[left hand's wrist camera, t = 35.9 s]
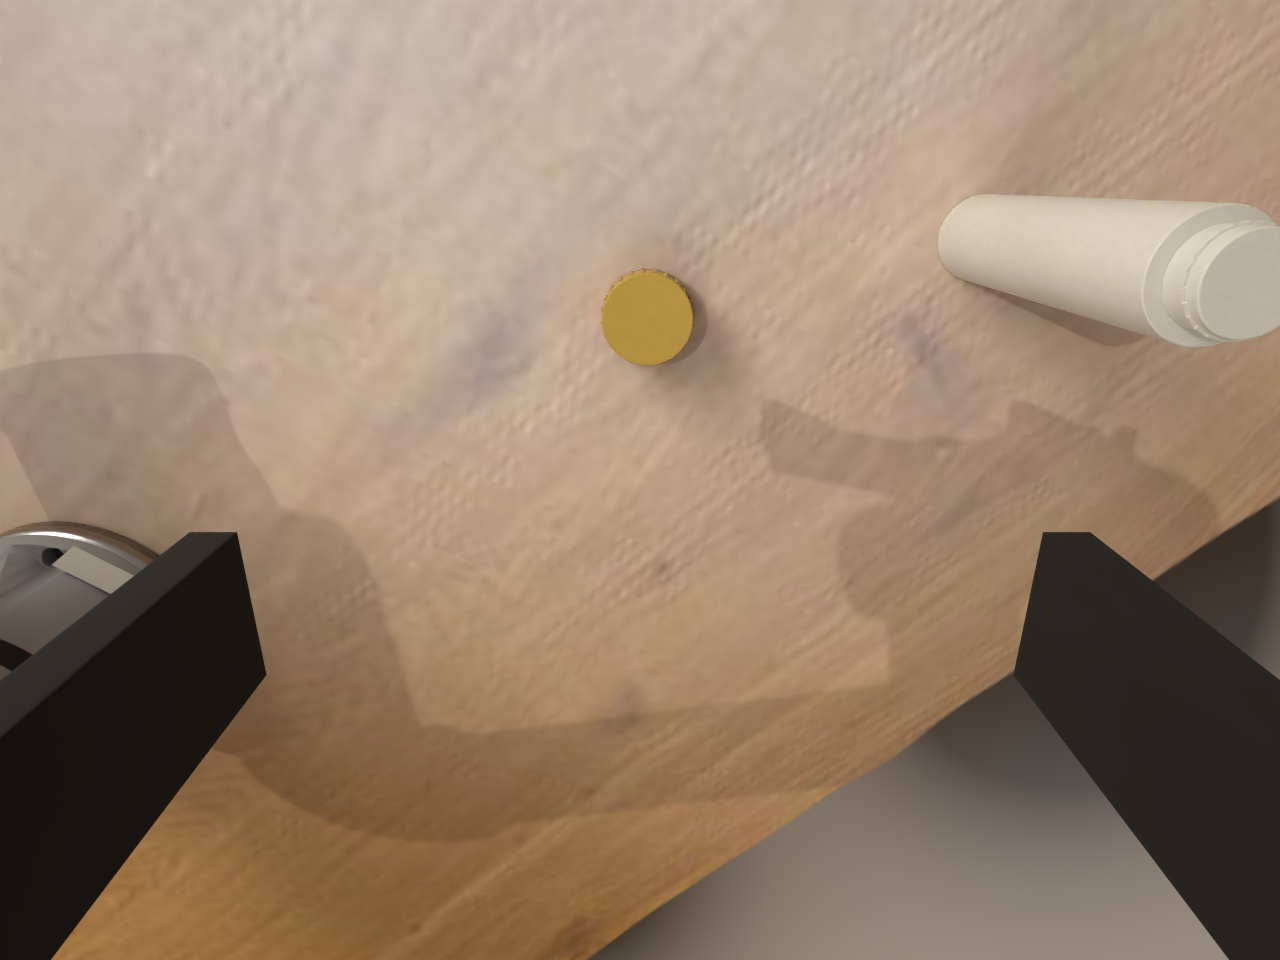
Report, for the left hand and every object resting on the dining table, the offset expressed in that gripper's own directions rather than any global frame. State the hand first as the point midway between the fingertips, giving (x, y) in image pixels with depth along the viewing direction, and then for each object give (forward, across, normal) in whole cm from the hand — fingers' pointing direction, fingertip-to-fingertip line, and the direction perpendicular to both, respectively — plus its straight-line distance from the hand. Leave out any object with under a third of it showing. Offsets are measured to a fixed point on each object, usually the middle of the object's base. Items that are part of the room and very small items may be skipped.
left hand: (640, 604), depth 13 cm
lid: (+28, 0, 0) cm, 28 cm away
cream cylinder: (+30, +17, +4) cm, 35 cm away
